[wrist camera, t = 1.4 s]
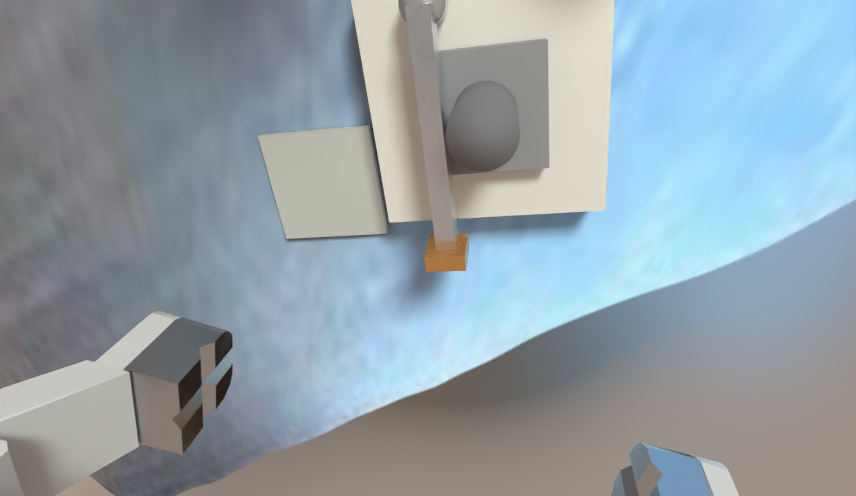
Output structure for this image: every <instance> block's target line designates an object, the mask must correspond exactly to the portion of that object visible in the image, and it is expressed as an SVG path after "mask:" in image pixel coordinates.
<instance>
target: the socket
mask: <svg viewBox="0 0 856 496" xmlns="http://www.w3.org/2000/svg"><path fill="white" fill-rule="evenodd" d="M351 3H352V9H353V14H354V20H355V26H356V32H357V38H358V44H359V49H360V55H361V61H362V67H363V73H364V78H365V84H366V90H367V96H368V102H369V107H370V113H371V119H372V125H373V131H374V136H375V142H376V148H377V154H378V160H379V165H380V171H381V177H382V183H383V189H384V194H385V200H386V206H387V212H388V218H389V223H391V222H409V221H427V220H432V214H431V206H430V198H429V190H428V183H427V175H426V167H425V159H424V152H423V144H422V136H421V128H420V121H419V113H418V105H417V97H416V90H415V82H414V74H413V66H412V59H411V51H410V43H409V35H408V28H407V23H406V22H405V21H404V19H403V18H402V16H401V14H400V11H399V6H398V0H351ZM614 3H615V0H448V9H447V12H446V14H445V16H444V18H443V19H442V20H441V21H440V22H438V23H437V33H438V43H439V51H440V50H449V49H458V48H466V47H475V46H483V45H492V44H501V43H509V42H518V41H527V40H535V39H544V38H547V40H548V86H549V168H542V169H528V170H514V171H500V172H486V173H472V174H459V175H452V177H453V186H454V196H455V206H456V215H457V219H462V218H480V217H498V216H515V215H533V214H551V213H568V212H586V211H604V210H606V188H607V165H608V142H609V118H610V95H611V72H612V49H613V26H614Z"/></svg>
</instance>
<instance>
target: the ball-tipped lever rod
mask: <svg viewBox="0 0 856 496" xmlns="http://www.w3.org/2000/svg"><path fill="white" fill-rule="evenodd" d="M398 6H399V11H400V14H401V16H402V18H403V19H404V21H405V22H406V23H407V28H408V35H409V43H410V51H411V59H412V66H413V74H414V82H415V90H416V97H417V105H418V113H419V121H420V128H421V136H422V144H423V152H424V159H425V167H426V175H427V183H428V190H429V198H430V206H431V214H432V221H433V229H434V235H430V238H429V242H428V245H427V249H426V252H425V256H424V261H425V268H426V272H441V271H466V267H467V260H468V252H469V240H468V233H458V225H457V215H456V206H455V196H454V186H453V177H452V167H451V158H450V152H449V150H448V147H447V144H446V135H445V134H446V127H447V119H446V110H445V100H444V91H443V81H442V71H441V62H440V52H439V43H438V33H437V23H438V22H440V21H441V20H442V19H443V18H444V16H445V14H446V12H447V9H448V0H398Z"/></svg>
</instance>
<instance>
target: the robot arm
mask: <svg viewBox="0 0 856 496" xmlns="http://www.w3.org/2000/svg"><path fill="white" fill-rule="evenodd" d="M232 347H233V343H232V334H231V333H230V332H229V331H227V330H223V329H220V328H217V327H213V326H210V325H207V324H203V323H200V322H196V321H193V320H190V319H186V318H183V317H182V318H181V317H178V316H174V315H171V314H168V313H164V312H161V311H157V312H154V313H151V314H149V315H148V316H147V317H146V318H145V319H144V320H142V321H141V322H140V323H139V324H138V325H137V326H136V327H134V328H133V329H132V330H131V331H130V332H129V333H127V334H126V335H125V336H124V337H123V338H122V339H121V340H119V341H118V342H117V343H116V344H115V345H114V346H112V347H111V348H110V349H109V350H108V351H107V352H106V353H104V354H103V355H102V356H101V357H100V358H99V359H97V360H96V361H95V362H92V361H88V360H86V361H83V362H80V363H77V364H74V365H71V366H68V367H65V368H62V369H59V370H56V371H53V372H50V373H47V374H44V375H41V376H38V377H35V378H32V379H29V380H26V381H23V382H20V383H17V384H14V385H11V386H8V387H5V388H1V389H0V496H54V495H56V494H58V493H60V492H61V491H63V490H65V489H66V488H68V487H70V486H72V485H73V484H75V483H76V482H78V481H80V480H82V479H84V478H85V477H87V476H89V475H91V474H92V473H94V472H96V471H97V470H99V469H101V468H103V467H104V466H106V465H108V464H109V463H111V462H113V461H115V460H116V459H118V458H120V457H122V456H123V455H125V454H127V453H128V452H130V451H132V450H134V449H135V448H137V447H139V444H143V445H146V446H150V447H154V448H158V449H162V450H166V451H170V452H174V453H178V454H182V455H183V454H184V453H185V451H186V450H187V448H188V447H189V446H190V444H191V443H192V442H193V440H194V439H195V438H196V436H197V435H198V433H199V432H200V431H201V429H202V428H203V415H206V414H208V413H210V412H212V411H214V410H216V409H217V407H218V406H219V405H220V403H221V402H222V400H223V399H224V397H225V395H226V392H227V390H228V388H229V386H230V382H231V378H232V370H233V364H232V362H231V361H230V359H229V358H228V356H227V353H228V352H229V351H230V350H231V348H232ZM629 456H630V460H631V466H629V467H627V468H624V469H622V470H620V472H619V474H618V476H617V478H616V480H615V482H614V486H613V491H612V496H739V495H738V492H737V490H736V487H735V485H734V483H733V481H732V478H731V476H730V474H729V471H728V469H727V468H726V467H725V466H724V465H723V464H722V463H719V462H716V461H711V460H707V459H704V458H700V457H695V456H691V455H688V454H684V453H680V452H676V451H672V450H668V449H664V448H661V447H657V446H653V445H649V444H646V443H642V442H640V443H639V444H637V445H636V446H635V447H634V448H633V450H632V452H631V453H630V455H629Z"/></svg>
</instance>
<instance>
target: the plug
mask: <svg viewBox="0 0 856 496" xmlns="http://www.w3.org/2000/svg"><path fill="white" fill-rule="evenodd" d="M439 52H440V62H441V71H442V81H443V91H444V100H445V110H446V119H447V127H446V134H445V135H446V144H447V147H448V150H449V152H450V158H451V167H452V175H459V174H472V173H486V172H500V171H514V170H528V169H542V168H549V86H548V40H547V38H544V39H535V40H527V41H518V42H509V43H501V44H492V45H483V46H475V47H466V48H458V49H449V50H440V51H439Z"/></svg>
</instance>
